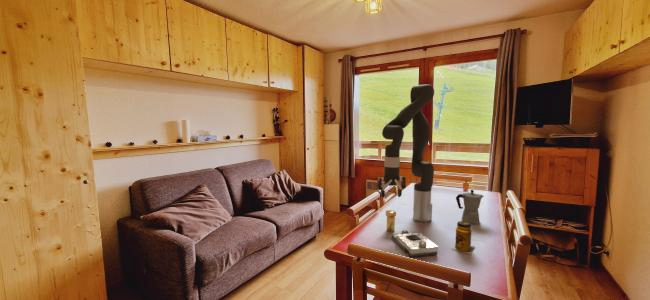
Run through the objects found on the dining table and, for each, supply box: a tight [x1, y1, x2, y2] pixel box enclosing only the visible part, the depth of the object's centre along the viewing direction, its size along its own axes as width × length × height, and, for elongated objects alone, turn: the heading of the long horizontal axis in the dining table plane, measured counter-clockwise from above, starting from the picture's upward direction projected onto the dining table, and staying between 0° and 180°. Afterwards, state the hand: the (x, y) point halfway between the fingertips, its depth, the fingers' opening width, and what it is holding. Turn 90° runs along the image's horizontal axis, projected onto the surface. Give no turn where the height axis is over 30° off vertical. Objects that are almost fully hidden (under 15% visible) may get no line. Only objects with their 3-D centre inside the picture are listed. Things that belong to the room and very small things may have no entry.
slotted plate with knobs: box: [391, 229, 439, 258], centre depth 123 cm, size 12×20×6 cm, turn 10°
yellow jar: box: [452, 220, 475, 255], centre depth 120 cm, size 7×8×12 cm
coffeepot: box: [455, 189, 484, 225], centre depth 152 cm, size 15×9×18 cm, turn 92°
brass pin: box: [385, 209, 397, 233], centre depth 140 cm, size 5×5×10 cm
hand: (391, 197), depth 138 cm, fingers open, 8 cm apart
